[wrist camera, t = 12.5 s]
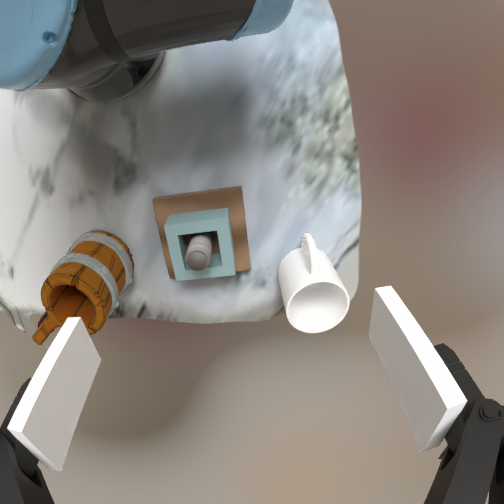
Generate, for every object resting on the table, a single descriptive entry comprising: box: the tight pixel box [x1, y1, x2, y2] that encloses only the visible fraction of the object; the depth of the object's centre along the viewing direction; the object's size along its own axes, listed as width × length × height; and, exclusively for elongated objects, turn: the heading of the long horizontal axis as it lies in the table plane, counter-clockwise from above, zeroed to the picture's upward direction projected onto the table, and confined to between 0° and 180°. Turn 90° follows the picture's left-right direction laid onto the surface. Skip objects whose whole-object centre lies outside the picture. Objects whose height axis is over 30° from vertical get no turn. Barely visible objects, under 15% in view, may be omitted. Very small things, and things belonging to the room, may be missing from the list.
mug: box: [32, 231, 134, 345], centre depth 40 cm, size 11×16×15 cm, turn 125°
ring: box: [164, 208, 236, 281], centre depth 42 cm, size 8×8×4 cm
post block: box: [153, 186, 251, 278], centre depth 41 cm, size 12×12×9 cm
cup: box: [278, 233, 349, 333], centre depth 43 cm, size 8×12×10 cm
